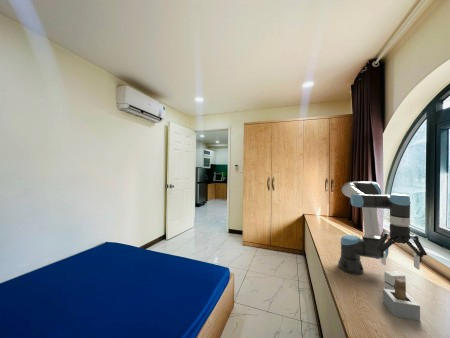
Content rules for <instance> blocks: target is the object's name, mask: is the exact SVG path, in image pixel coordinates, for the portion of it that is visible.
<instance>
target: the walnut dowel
mask: <svg viewBox="0 0 450 338" xmlns="http://www.w3.org/2000/svg"><path fill="white" fill-rule="evenodd" d="M406 285H407V283H405V282H404V281H402V280H399V279H395V298H396V299H398V300H404V301H406V292H407V286H406Z"/></svg>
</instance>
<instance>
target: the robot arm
mask: <svg viewBox="0 0 450 338" xmlns="http://www.w3.org/2000/svg"><path fill="white" fill-rule="evenodd" d="M340 191H341V193H342V194H343V195H344V196H345V197H348V198H349V199H350V205H351V206H352V207H357V208H361V209H362V211H361V212H362V219H363V222H362V223H363V230H364V235H363V236H362V238H361V237H360V236H358V235H353V234H345V235H343V236H341V238H340V257H339V260H338V262H337V263H338V265H337V266H338V268H339V269H340V270H342V271H344V272H345V273H348V274H354V275H362V274H363V273H364V270H365V269H364V266H363V264H362V260H361V257H362V258H363V257H365V258H371V259H376V260H381V264H382V265H384V266H386V265H387V258H388V256H389V253H390V252H389V250H390V247H391V246H393V245H394V244H403V245H405V244H406V245H408V247H409V248H410V249H411V250H412V251H413V252H414V253H413V267H414V268H415V269H417V270H420V266H421V264H420V263H422V261H423V260H422V258H423V257H424V256H428V253H427V252H426V250H425V248H424V247H423V245H422V243H421V242H420V239H419V238H420V237H419V236H418V235H415V234H411V227H410V226H411V197H410V195H408V194H402V193H391V194H382V189H381V187H380V185H379V183H377V182H376V181H348V182H346V183H344V184H343V185H342V186H341V190H340ZM378 209H385V210H389V233H388V232H385V231H383V232H382V233H380V224H379V223H380V222H379V215H378ZM410 240H412V241H413V243H414V244H412V242H411V241H410ZM414 245H416V246H414Z"/></svg>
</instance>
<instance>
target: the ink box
mask: <svg viewBox="0 0 450 338" xmlns="http://www.w3.org/2000/svg"><path fill="white" fill-rule="evenodd" d="M383 274H384V275H383V277H384V278H383V279H384V289H390V290H395V279H399V280H402V281H404V282H405V283H406V282H407V280H406V275H405V274H403V273H401V272H400V271H399V270H398V271H397V270H386V271H384V272H383ZM406 284H407V283H406Z"/></svg>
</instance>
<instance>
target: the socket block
mask: <svg viewBox="0 0 450 338" xmlns="http://www.w3.org/2000/svg"><path fill="white" fill-rule="evenodd" d="M382 302H383V304H384V305H385V306H386V307H387V309H388V310H389V311H390V313H391V314H392V315H393V316H394V317H396V318H402V319H407V320H413V321H417V322H421V306H420V304H419V303H418V302H417V301H416V300H415V299H414V298H413V297H412V296H411V295H410V294H409V293H407V291H406V301H404V300H398V299H396V298H395V290H390V289H385V287H384V288H383V289H382Z"/></svg>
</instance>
